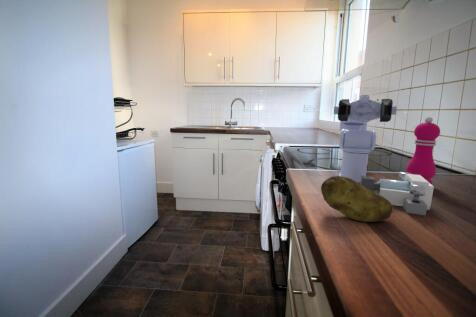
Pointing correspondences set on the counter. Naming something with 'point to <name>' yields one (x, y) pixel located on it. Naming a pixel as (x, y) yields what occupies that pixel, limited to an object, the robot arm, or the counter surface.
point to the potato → (355, 200)
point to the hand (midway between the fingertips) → (367, 109)
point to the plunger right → (417, 191)
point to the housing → (410, 196)
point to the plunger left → (402, 176)
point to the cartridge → (384, 184)
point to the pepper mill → (424, 150)
